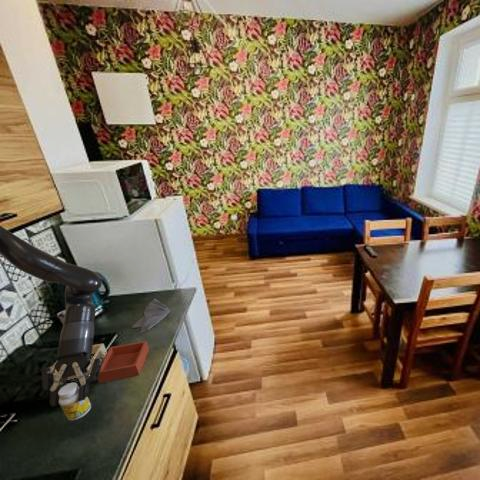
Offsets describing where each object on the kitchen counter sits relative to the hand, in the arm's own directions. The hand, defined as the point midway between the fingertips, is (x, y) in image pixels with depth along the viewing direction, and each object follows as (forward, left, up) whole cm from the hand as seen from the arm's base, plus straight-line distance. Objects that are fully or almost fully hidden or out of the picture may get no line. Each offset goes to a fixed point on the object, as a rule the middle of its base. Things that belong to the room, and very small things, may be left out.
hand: (68, 402), depth 73 cm
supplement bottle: (0, +2, -6) cm, 7 cm away
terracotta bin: (+2, +26, -14) cm, 29 cm away
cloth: (+4, +57, -14) cm, 59 cm away
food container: (-24, +54, -14) cm, 60 cm away
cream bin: (-14, +29, -14) cm, 35 cm away
